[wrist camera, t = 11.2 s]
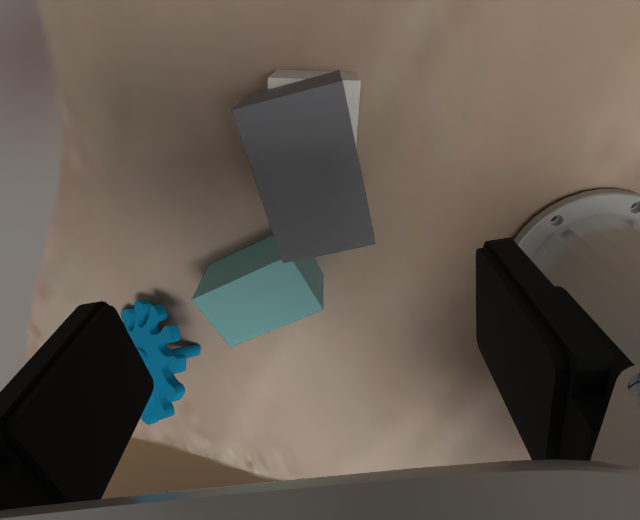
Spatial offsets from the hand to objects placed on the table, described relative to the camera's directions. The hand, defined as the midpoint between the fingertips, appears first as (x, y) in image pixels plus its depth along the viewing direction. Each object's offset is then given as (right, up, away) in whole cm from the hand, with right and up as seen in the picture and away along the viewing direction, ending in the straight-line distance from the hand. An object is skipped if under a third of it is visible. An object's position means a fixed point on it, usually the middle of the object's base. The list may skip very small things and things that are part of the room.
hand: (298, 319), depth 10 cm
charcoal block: (0, +8, +13) cm, 15 cm away
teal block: (-4, +1, +23) cm, 23 cm away
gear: (-14, -5, +27) cm, 31 cm away
